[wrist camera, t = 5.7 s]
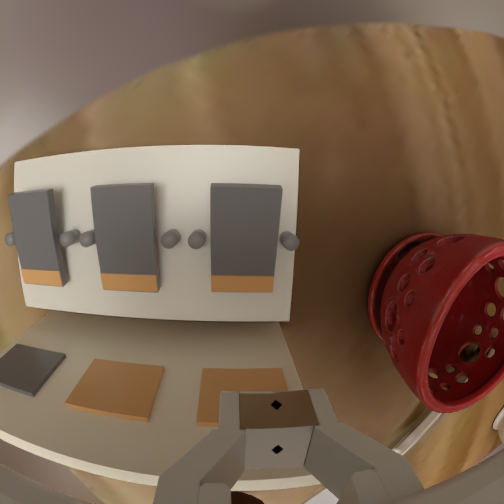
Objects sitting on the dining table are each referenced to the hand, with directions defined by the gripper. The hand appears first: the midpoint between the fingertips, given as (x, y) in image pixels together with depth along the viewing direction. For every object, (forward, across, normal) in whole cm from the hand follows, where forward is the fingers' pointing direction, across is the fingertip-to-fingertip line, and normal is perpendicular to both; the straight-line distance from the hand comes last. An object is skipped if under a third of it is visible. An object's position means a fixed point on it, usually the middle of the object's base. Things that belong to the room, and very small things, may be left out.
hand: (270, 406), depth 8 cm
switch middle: (+11, +8, -3) cm, 14 cm away
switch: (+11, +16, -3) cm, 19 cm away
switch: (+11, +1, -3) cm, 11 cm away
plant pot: (+17, -16, +2) cm, 23 cm away
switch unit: (+16, +8, -1) cm, 18 cm away
